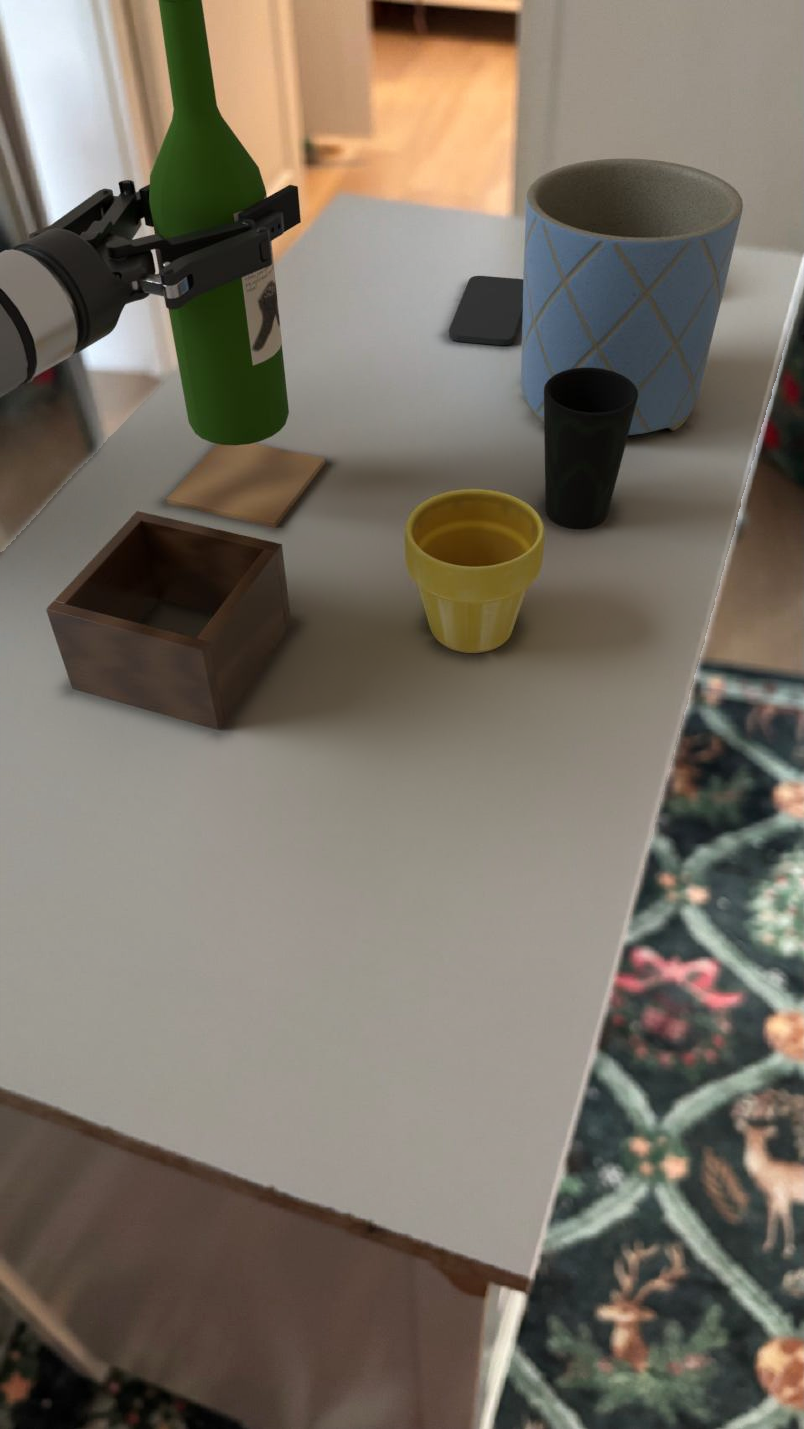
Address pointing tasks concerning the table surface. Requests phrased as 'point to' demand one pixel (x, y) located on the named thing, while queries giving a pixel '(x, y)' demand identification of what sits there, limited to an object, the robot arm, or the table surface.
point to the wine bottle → (203, 194)
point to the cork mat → (247, 482)
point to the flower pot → (473, 564)
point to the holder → (162, 663)
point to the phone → (489, 311)
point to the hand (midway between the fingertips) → (246, 192)
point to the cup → (584, 443)
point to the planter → (626, 279)
